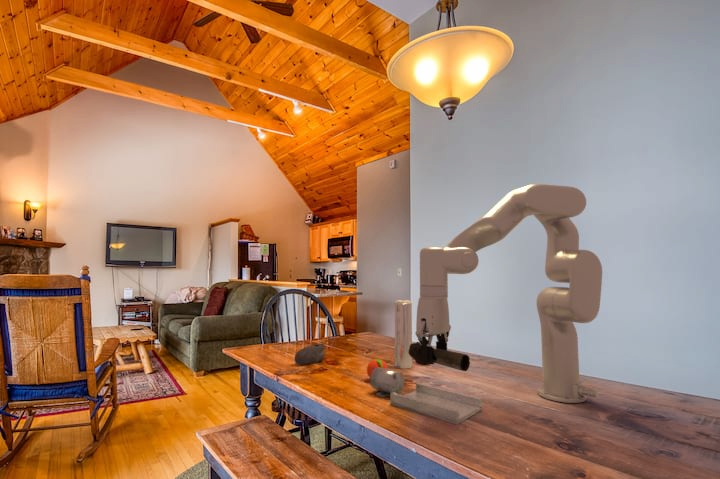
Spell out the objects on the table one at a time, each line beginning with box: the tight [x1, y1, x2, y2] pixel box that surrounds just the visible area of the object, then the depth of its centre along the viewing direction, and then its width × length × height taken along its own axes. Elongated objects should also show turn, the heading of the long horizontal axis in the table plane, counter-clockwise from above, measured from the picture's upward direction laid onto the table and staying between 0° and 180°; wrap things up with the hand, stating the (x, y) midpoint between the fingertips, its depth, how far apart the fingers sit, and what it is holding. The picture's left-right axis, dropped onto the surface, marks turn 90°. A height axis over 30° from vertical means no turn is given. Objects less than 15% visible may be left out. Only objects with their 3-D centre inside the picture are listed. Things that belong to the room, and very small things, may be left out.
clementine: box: [366, 358, 388, 378], centre depth 126 cm, size 8×7×7 cm
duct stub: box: [369, 367, 406, 398], centre depth 113 cm, size 8×7×7 cm
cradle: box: [389, 382, 483, 425], centre depth 102 cm, size 20×13×3 cm
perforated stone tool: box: [294, 343, 326, 366], centre depth 150 cm, size 15×5×7 cm, turn 135°
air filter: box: [394, 299, 413, 370], centre depth 145 cm, size 6×6×25 cm
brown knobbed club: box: [409, 341, 471, 372], centre depth 102 cm, size 18×7×6 cm, turn 44°
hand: (434, 358), depth 103 cm, fingers closed on brown knobbed club, 6 cm apart
